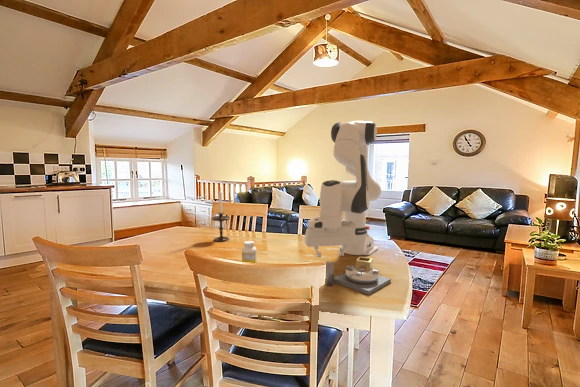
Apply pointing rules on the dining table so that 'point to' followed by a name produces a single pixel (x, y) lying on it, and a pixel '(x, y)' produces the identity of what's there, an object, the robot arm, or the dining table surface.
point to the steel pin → (329, 273)
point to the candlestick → (220, 220)
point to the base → (362, 287)
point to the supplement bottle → (249, 252)
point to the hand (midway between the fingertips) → (330, 256)
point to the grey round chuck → (362, 271)
